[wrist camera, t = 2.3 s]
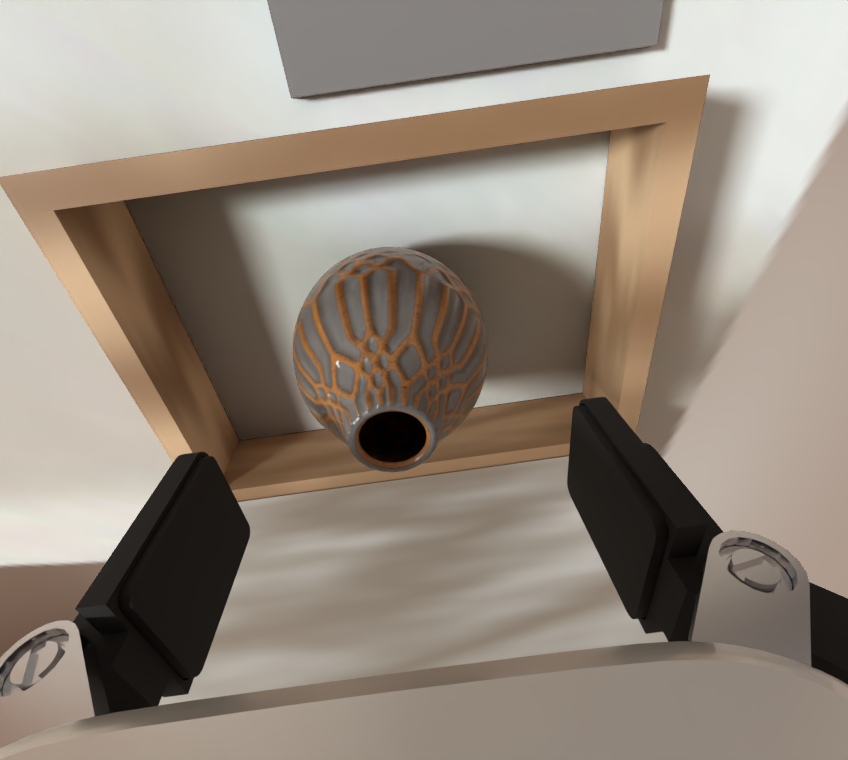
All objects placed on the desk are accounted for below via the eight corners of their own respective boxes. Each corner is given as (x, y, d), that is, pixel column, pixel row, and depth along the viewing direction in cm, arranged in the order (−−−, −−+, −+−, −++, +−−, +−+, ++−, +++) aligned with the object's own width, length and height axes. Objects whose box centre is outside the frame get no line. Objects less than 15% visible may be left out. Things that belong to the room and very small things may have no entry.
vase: (491, 253, 17) (569, 356, 10) (442, 388, 21) (472, 539, 13) (324, 207, 16) (266, 285, 8) (302, 360, 19) (247, 511, 12)
